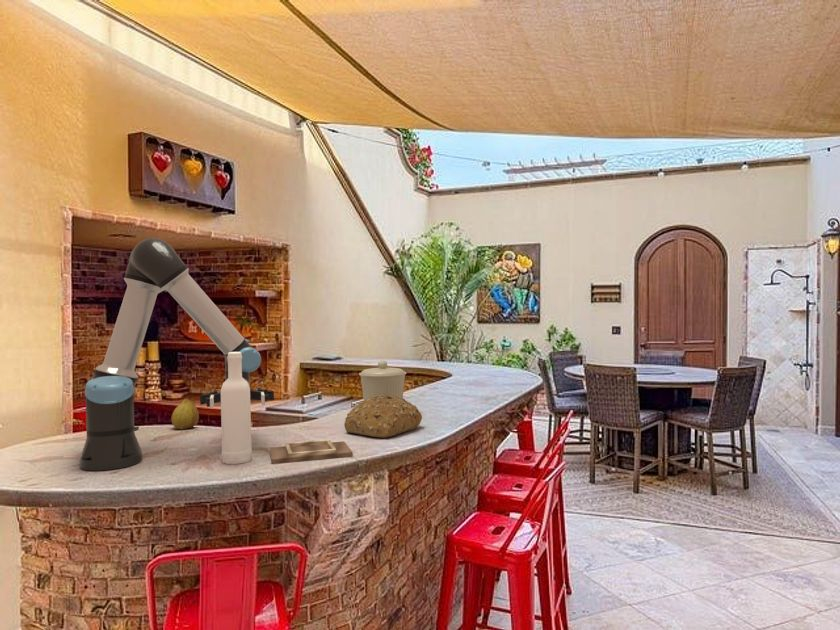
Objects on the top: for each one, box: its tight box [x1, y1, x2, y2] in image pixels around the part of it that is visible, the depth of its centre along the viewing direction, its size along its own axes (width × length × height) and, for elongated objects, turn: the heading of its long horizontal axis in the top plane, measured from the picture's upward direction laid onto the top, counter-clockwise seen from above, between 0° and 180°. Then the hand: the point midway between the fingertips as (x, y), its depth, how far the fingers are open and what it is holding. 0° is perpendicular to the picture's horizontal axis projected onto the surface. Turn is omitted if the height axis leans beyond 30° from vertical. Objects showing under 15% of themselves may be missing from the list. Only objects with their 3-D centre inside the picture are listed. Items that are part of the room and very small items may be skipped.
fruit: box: [170, 393, 200, 430], centre depth 207 cm, size 9×9×12 cm
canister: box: [358, 360, 407, 401], centre depth 224 cm, size 18×18×21 cm
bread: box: [343, 395, 423, 439], centre depth 197 cm, size 24×21×12 cm
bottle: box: [220, 352, 253, 465], centre depth 162 cm, size 8×8×30 cm
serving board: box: [269, 439, 354, 465], centre depth 168 cm, size 22×14×2 cm, turn 107°
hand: (237, 401), depth 161 cm, fingers open, 13 cm apart
